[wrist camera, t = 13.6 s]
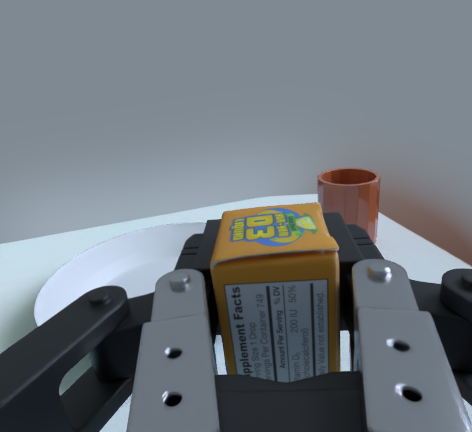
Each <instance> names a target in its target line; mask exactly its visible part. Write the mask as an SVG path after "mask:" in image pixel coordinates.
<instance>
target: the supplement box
mask: <svg viewBox="0 0 472 432" xmlns="http://www.w3.org/2000/svg"><path fill="white" fill-rule="evenodd" d="M338 250H339V246H338V244H337V243H336V241H335V239H334V238H333V237H331V236H330V235H329V233H328V229H327V227H326V224H325V221H324V218H323V214H322V208H321V205H320V203H319V202H315V203H305V204H293V205H278V206H267V207H257V208H248V209H240V210H233V211H225V212H224V213H223V214H222V219H221V222H220V227H219V230H218V234H217V238H216V243H215V246H214V251H213V255H212V259H211V262H210V270H211V276H212V282H213V288H214V293H215V299H216V305H217V311H218V318H219V325H220V331H221V337H222V343H223V350H224V357H225V365H226V371H227V375H232V374H241V375H247V376H252V377H257V378H262V379H268V380H273V381H278V382H293V381H297V380H301V379H305V378H309V377H313V376H317V375H321V374H325V373H329V372H340V298H339V258H338V253H337V251H338Z"/></svg>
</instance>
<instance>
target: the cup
mask: <svg viewBox="0 0 472 432" xmlns="http://www.w3.org/2000/svg"><path fill="white" fill-rule="evenodd" d="M379 194H380V175H379V174H378V173H377V172H374V171H372V170H367V169H361V168H338V169H332V170H328V171H325V172H322V173H320V174H319V175H318V202H319V203H320V205H321V208H322V213H328V212H339V213H340V215H341V216H342V218H343V220H344V222H345V224H346V225H347V224H356V225H358V226H359V227H361V228H363V229H365V230H366V232H367V233H368V235H369V236H370V239H372V241H373V242H374V244H375V243H376V237H377V225H378V209H379Z"/></svg>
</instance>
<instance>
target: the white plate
mask: <svg viewBox="0 0 472 432" xmlns="http://www.w3.org/2000/svg"><path fill="white" fill-rule="evenodd" d="M205 226H206V223H176V224H167V225H161V226H155V227H150V228H145V229H141V230H137V231H133V232H130V233H127V234H123V235H120V236H117V237H115V238H112V239H109V240H107V241H105V242H102V243H100V244H98V245H96V246H94V247H92V248H90V249H88V250H86V251H84V252H82V253H81V254H79V255H77V256H76V257H74V258H73V259H71V260H70V261H68V262H67V263H66V264H64V265H63V266H62V267H61V268H59V269H58V270H57V271H56V272H55V273H54V274H53V275H52V276H51V277H50V278H49V279H48V280H47V282H46V283H45V284H44V286H43V287H42V289H41V290H40V292H39V294H38V296H37V299H36V302H35V307H34V316H35V321H36V323H37V326H38V327H39V326H40V325H41V324H43V323H44V322H46V321H47V320H48V319H50V318H51V317H53V316H54V315H55V314H57V313H58V312H59V311H61V310H62V309H64V308H65V307H66V306H68V305H69V304H71V303H72V302H73V301H75V300H76V299H78V298H79V297H80V296H82V295H83V294H85V293H86V292H88V291H90V290H93V289H95V288H98V287H102V286H110V285H113V286H120V287H122V288H124V289H125V290H126V293H127V297H128V299H129V298H133V297H137V296H141V295H145V294H149V293H152V292H154V291H155V285H156V282H157V280H158V279H159V278H160V277H162V276H163V275H165V274H166V273H169V272H171V271H174V268H175V266H176V263H177V261H178V258H179V256H180V254H181V251H182V249H183V246H184V244H185V241H186V240H187V239H188V238H190V237H191V236H192V235H193V234H199V233H203V232H204V229H205ZM88 354H89V353H88Z"/></svg>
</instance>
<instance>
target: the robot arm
mask: <svg viewBox="0 0 472 432" xmlns="http://www.w3.org/2000/svg"><path fill="white" fill-rule="evenodd" d="M322 214H323V218H324V221H325V224H326V227H327V229H328V233H329V235H330V236H331V237H333V238H334V239H335V241H336V243H337V244H338V246H339V250H338V251H337V253H338V258H339V298H340V331H343V330H348V331H349V334H350V343H349V353H350V371H342V372H329V373H325V374H321V375H317V376H313V377H309V378H305V379H301V380H297V381H293V382H278V381H273V380H268V379H262V378H257V377H252V376H247V375H241V374H232V375H218V372H217V364H216V355H215V348H214V344H215V339H216V335H221V331H220V325H219V318H218V311H217V305H216V299H215V293H214V288H213V282H212V276H211V270H210V262H211V259H212V255H213V251H214V246H215V243H216V238H217V234H218V230H219V227H220V222H221V219H218V220H207V223H206V226H205V229H204V232H203V233H199V234H193V235H192V236H191V237H190V238H188V239H187V240H186V241H185V244H184V246H183V249H182V251H181V254H180V256H179V258H178V261H177V263H176V266H175V268H174V271H171V272H169V273H166V274H165V275H163V276H162V277H160V278H159V279H158V280H157V282H156V285H155V291H154V292H152V293H149V294H145V295H141V296H137V297H133V298H129V299H128V297H127V293H126V290H125V289H124V288H122V287H120V286H113V285H110V286H102V287H98V288H95V289H93V290H90V291H88V292H86V293H85V294H83V295H82V296H80V297H79V298H78V299H76V300H75V301H73V302H72V303H71V304H69V305H68V306H66V307H65V308H64V309H62V310H61V311H59V312H58V313H57V314H55V315H54V316H53V317H51V318H50V319H48V320H47V321H46V322H44V323H43V324H41V325H40V326H39V327H37V328H36V329H34V330H33V331H32V332H30V333H29V334H27V335H26V336H25V337H23V338H22V339H21V340H19V341H18V342H16V343H15V344H14V345H12V346H11V347H9V348H8V349H7V350H5V351H4V352H2V353H1V354H0V432H99V431H100V430H101V429H102V428H103V427H104V425H105V424H106V423H107V422H108V421H109V419H110V418H111V417H112V416H113V415H114V414H115V412H116V411H117V410H118V409H119V408H120V407H121V405H122V404H123V403H124V402H125V401H126V400H127V398H128V397H129V396H130V395H131V394H132V398H131V405H130V412H129V418H128V425H127V431H126V432H472V424H471V421H470V419H469V416H468V413H467V411H466V408H465V405H464V402H463V400H462V398H463V399H465V400H466V401H467V402H468V403H469V404H470V405H471V406H472V269H453V270H450V271H447V272H446V273H444V274H443V276H442V282H441V284H435V283H427V282H420V281H415V280H411V279H409V278H408V275H407V273H406V271H405V269H404V268H403V267H401V266H400V265H398V264H396V263H394V262H391V261H388V260H385V259H384V258H383V256H382V255H381V253H380V252H379V250H378V249H377V247H376V246H375V245H374V242H373V241H372V239H370V236H369V235H368V233H367V232H366V230H365V229H363V228H361V227H359V226H358V225H356V224H347V225H346V224H345V222H344V220H343V218H342V216H341V215H340V213H339V212H328V213H322ZM88 353H89V356H90V359H91V362H92V365H93V366H92V367H91V368H89V369H88V370H87V371H86V372H85V373H84V374H83V375H82V376H81V377H80V378H79V379H78V380H77V381H76V382H75V383H74V384H73V385H72V386H71V387H70V388H68V389H67V390H66V391H65V392H64V393H63V394H62V395H61V396H60V395H59V386H60V383H61V381H62V379H63V377H64V375H65V374H66V373H67V372H68V371H69V370H70V369H71V368H72V367H73V366H75V365H76V364H77V363H78V362H79V361H80V360H81V359H82V358H83V357H85V356H86V355H87V354H88Z"/></svg>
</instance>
